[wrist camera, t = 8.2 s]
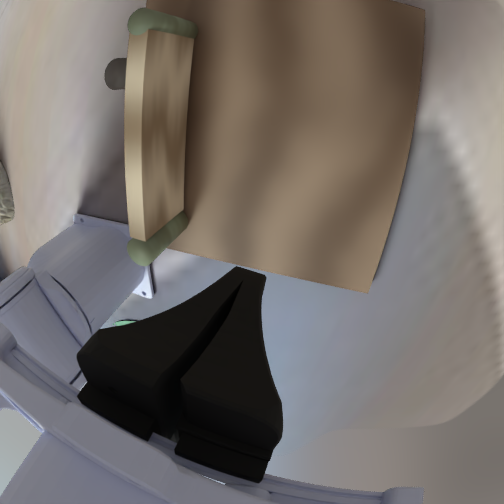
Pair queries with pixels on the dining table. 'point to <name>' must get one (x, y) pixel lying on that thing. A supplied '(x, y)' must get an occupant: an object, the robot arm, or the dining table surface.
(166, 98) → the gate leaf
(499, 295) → the dining table surface
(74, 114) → the dining table surface
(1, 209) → the ceramic cottage
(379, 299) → the dining table surface
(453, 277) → the dining table surface
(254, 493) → the robot arm
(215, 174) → the board
